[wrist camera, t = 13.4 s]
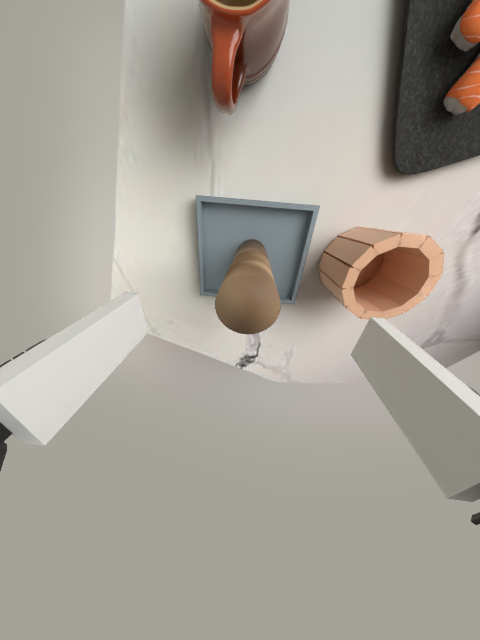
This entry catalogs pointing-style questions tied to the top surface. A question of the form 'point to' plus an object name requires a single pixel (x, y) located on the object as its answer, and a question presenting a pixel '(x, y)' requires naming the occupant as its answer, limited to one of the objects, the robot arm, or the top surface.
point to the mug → (241, 43)
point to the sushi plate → (438, 86)
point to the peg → (248, 291)
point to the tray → (253, 223)
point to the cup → (381, 270)
